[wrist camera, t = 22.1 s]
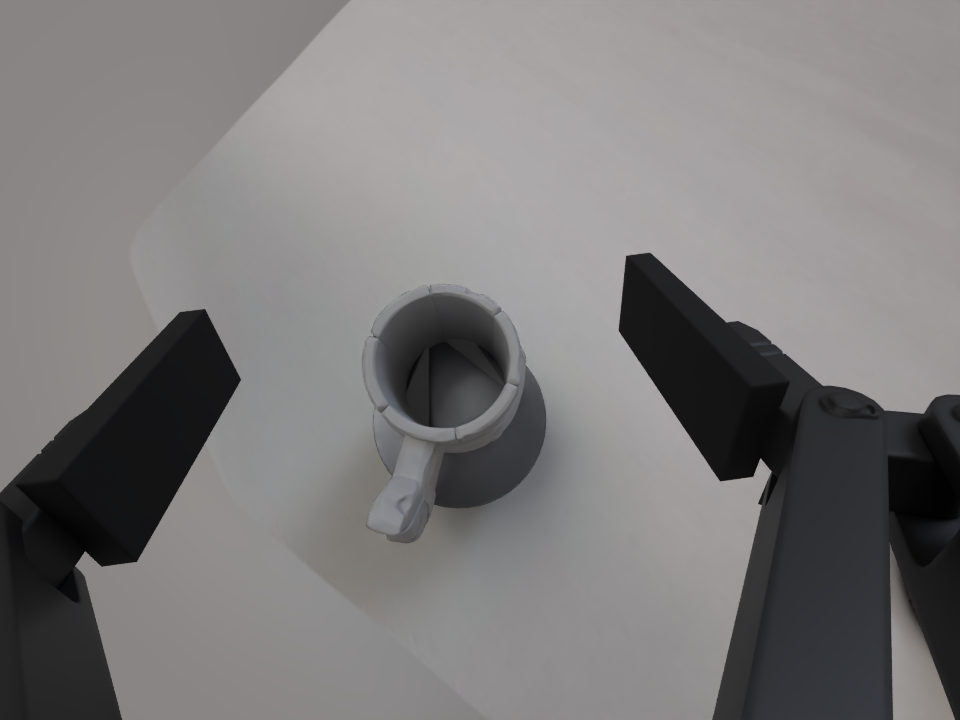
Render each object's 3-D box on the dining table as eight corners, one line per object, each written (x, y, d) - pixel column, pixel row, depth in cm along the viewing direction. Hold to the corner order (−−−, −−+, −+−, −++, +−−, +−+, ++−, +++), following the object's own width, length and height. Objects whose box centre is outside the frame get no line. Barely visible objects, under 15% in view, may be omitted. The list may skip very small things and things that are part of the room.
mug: (533, 344, 28) (571, 273, 16) (481, 538, 26) (481, 624, 14) (414, 312, 28) (365, 219, 16) (355, 501, 26) (249, 554, 14)
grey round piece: (369, 406, 34) (340, 398, 27) (480, 330, 35) (479, 302, 28) (447, 522, 33) (437, 545, 26) (559, 438, 34) (581, 438, 27)
